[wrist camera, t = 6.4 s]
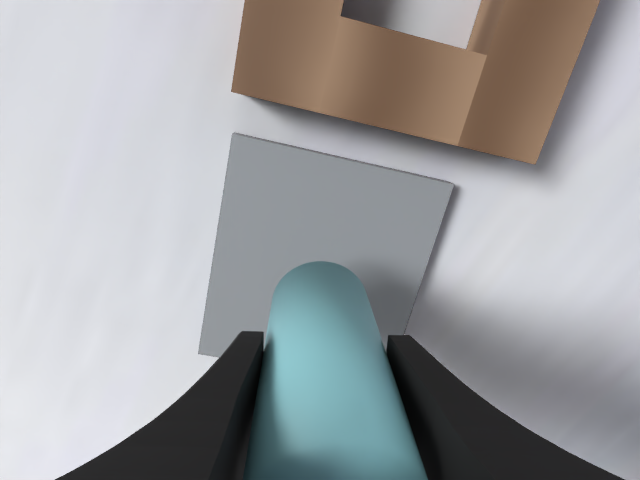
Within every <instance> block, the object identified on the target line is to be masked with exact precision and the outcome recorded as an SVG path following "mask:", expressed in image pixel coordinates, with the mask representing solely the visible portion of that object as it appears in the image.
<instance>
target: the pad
mask: <svg viewBox="0 0 640 480" xmlns="http://www.w3.org/2000/svg"><path fill="white" fill-rule="evenodd" d="M453 187H454V184H452V183H451V182H448V181H444V180H440V179H435V178H431V177H427V176H422V175H418V174H413V173H409V172H405V171H400V170H396V169H392V168H387V167H383V166H379V165H374V164H370V163H365V162H361V161H357V160H352V159H348V158H344V157H339V156H335V155H330V154H326V153H322V152H317V151H313V150H309V149H304V148H300V147H296V146H291V145H287V144H282V143H278V142H274V141H269V140H265V139H261V138H256V137H252V136H248V135H243V134H239V133H233V134H232V138H231V145H230V151H229V158H228V164H227V171H226V177H225V183H224V190H223V196H222V203H221V209H220V216H219V222H218V228H217V235H216V241H215V248H214V254H213V261H212V267H211V273H210V280H209V286H208V293H207V299H206V306H205V312H204V318H203V325H202V331H201V338H200V344H199V351H198V354H202V355H207V356H213V357H219V358H220V356H221V355H222V354H223V353H224V352H225V350H226V349H227V348H228V347H229V346H230V344H231V343H232V342H233V340H234V339H235V338H236V337H237V335H238V334H239V333H240V332H242V331H262V332H264V346H265V340H266V333H267V327H268V321H269V315H270V309H271V303H272V297H273V293H274V291H275V288H276V286H277V285H278V283H279V281H280V280H281V279H282V278H283V277H284V276H285V275H286V274H287V273H288V272H289V271H291V270H292V269H294V268H296V267H297V266H300V265H302V264H305V263H309V262H315V261H326V262H332V263H336V264H339V265H342V266H344V267H345V268H347V269H349V270H350V271H352V272H353V273H354V274H355V275H356V276H357V277H358V278H359V279H360V281H361V282H362V284H363V286H364V288H365V290H366V293H367V296H368V299H369V302H370V305H371V308H372V311H373V314H374V317H375V321H376V324H377V327H378V330H379V333H380V336H381V339H382V342H383V345H384V348H385V351H386V349H387V341H388V335H404V332H405V329H406V326H407V323H408V320H409V317H410V314H411V311H412V308H413V305H414V302H415V299H416V296H417V293H418V290H419V288H420V285H421V282H422V279H423V276H424V273H425V270H426V267H427V264H428V261H429V258H430V255H431V252H432V249H433V246H434V243H435V240H436V237H437V234H438V231H439V228H440V225H441V222H442V219H443V216H444V213H445V210H446V207H447V204H448V201H449V198H450V195H451V192H452V189H453Z"/></svg>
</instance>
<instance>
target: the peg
mask: <svg viewBox="0 0 640 480" xmlns="http://www.w3.org/2000/svg"><path fill="white" fill-rule="evenodd" d="M243 480H428V478H427V475H426V472H425V469H424V466H423V463H422V460H421V457H420V454H419V451H418V448H417V445H416V442H415V439H414V435H413V432H412V429H411V426H410V423H409V420H408V417H407V414H406V411H405V408H404V405H403V402H402V399H401V396H400V393H399V390H398V387H397V384H396V381H395V378H394V375H393V372H392V369H391V366H390V363H389V360H388V357H387V354H386V351H385V348H384V345H383V342H382V339H381V336H380V333H379V330H378V327H377V324H376V321H375V317H374V314H373V311H372V308H371V305H370V302H369V299H368V296H367V293H366V290H365V288H364V286H363V284H362V282H361V281H360V279H359V278H358V277H357V276H356V275H355V274H354V273H353V272H352V271H350V270H349V269H347V268H345V267H344V266H342V265H339V264H336V263H332V262H326V261H315V262H309V263H305V264H302V265H300V266H297V267H296V268H294V269H292V270H291V271H289V272H288V273H287V274H286V275H285V276H284V277H283V278H282V279H281V280H280V281H279V283H278V285H277V286H276V288H275V291H274V293H273V297H272V303H271V309H270V315H269V321H268V327H267V333H266V340H265V346H264V353H263V359H262V366H261V372H260V377H259V383H258V389H257V395H256V401H255V407H254V413H253V420H252V426H251V432H250V438H249V444H248V450H247V456H246V463H245V469H244V475H243Z"/></svg>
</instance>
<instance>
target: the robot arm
mask: <svg viewBox="0 0 640 480" xmlns="http://www.w3.org/2000/svg"><path fill="white" fill-rule="evenodd" d="M263 353H264V332H262V331H242V332H240V333H239V334H238V335H237V337H236V338H235V339H234V340H233V342H232V343H231V344H230V346H229V347H228V348H227V349H226V350H225V352H224V353H223V354H222V355H221V356H220V358H219V359H218V360H217V361H216V362H215V363H214V364H213V365H212V366H211V367H210V369H209V370H208V371H207V372H206V373H205V374H204V375H203V376H202V377H201V378H200V379H199V380H198V381H197V382H196V383H195V384H194V385H193V386H192V387H191V388H190V389H189V390H188V391H187V392H186V393H185V394H184V395H182V396H181V397H180V398H179V399H178V400H177V401H176V402H175V403H173V404H172V405H171V406H170V407H169V408H168V409H166V410H165V411H164V412H163V413H161V414H160V415H159V416H158V417H156V418H155V419H154V420H152V421H151V422H150V423H148V424H147V425H145V426H144V427H142V428H141V429H139V430H138V431H137V432H135V433H134V434H132V435H131V436H129V437H128V438H126V439H125V440H123V441H122V442H121V443H119V444H117V445H116V446H114V447H113V448H111V449H109V450H108V451H106V452H104V453H103V454H101V455H99V456H98V457H96V458H94V459H92V460H91V461H89V462H87V463H85V464H84V465H82V466H80V467H78V468H76V469H75V470H73V471H71V472H69V473H67V474H65V475H63V476H61V477H59V478H57V479H55V480H243V475H244V469H245V463H246V456H247V450H248V444H249V438H250V432H251V426H252V420H253V413H254V407H255V401H256V395H257V389H258V383H259V377H260V372H261V366H262V359H263ZM386 354H387V357H388V360H389V363H390V366H391V369H392V372H393V375H394V378H395V381H396V384H397V387H398V390H399V393H400V396H401V399H402V402H403V405H404V408H405V411H406V414H407V417H408V420H409V423H410V426H411V429H412V432H413V435H414V439H415V442H416V445H417V448H418V451H419V454H420V457H421V460H422V463H423V466H424V469H425V472H426V475H427V478H428V480H624V479H622V478H620V477H618V476H616V475H614V474H612V473H609V472H607V471H605V470H603V469H601V468H599V467H597V466H595V465H593V464H591V463H589V462H586V461H585V460H583V459H581V458H579V457H577V456H575V455H573V454H571V453H569V452H567V451H565V450H563V449H562V448H560V447H558V446H556V445H555V444H553V443H551V442H549V441H548V440H546V439H544V438H542V437H540V436H539V435H537V434H535V433H534V432H532V431H530V430H529V429H527V428H525V427H524V426H522V425H521V424H519V423H518V422H516V421H515V420H513V419H512V418H510V417H509V416H507V415H506V414H504V413H503V412H501V411H500V410H498V409H497V408H495V407H494V406H492V405H491V404H490V403H488V402H487V401H486V400H484V399H483V398H482V397H480V396H479V395H478V394H477V393H475V392H474V391H473V390H471V389H470V388H469V387H468V386H466V385H465V384H464V383H463V382H461V381H460V380H459V379H458V378H457V377H455V376H454V375H453V374H452V373H451V372H450V371H449V370H447V369H446V368H445V367H444V366H443V365H442V364H441V363H439V362H438V361H437V360H436V359H435V358H434V357H433V356H432V355H431V354H430V353H428V352H427V351H426V350H425V349H424V348H423V347H422V346H421V345H420V344H419V343H418V342H416V341H415V340H414V339H413V338H412V337H411V336H409V335H388V341H387V349H386Z"/></svg>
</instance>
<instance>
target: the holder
mask: <svg viewBox="0 0 640 480" xmlns="http://www.w3.org/2000/svg"><path fill="white" fill-rule="evenodd" d="M343 2H344V0H245V3H244V9H243V16H242V23H241V29H240V36H239V43H238V49H237V56H236V63H235V69H234V76H233V83H232V89H231V92H234V93H238V94H242V95H247V96H251V97H255V98H259V99H263V100H268V101H272V102H276V103H280V104H284V105H288V106H293V107H297V108H301V109H305V110H309V111H313V112H318V113H322V114H326V115H330V116H334V117H338V118H343V119H347V120H351V121H355V122H359V123H364V124H368V125H372V126H376V127H380V128H384V129H389V130H393V131H397V132H401V133H405V134H409V135H414V136H418V137H422V138H426V139H430V140H435V141H439V142H443V143H447V144H451V145H455V146H460V147H464V148H468V149H472V150H476V151H480V152H485V153H489V154H493V155H497V156H501V157H505V158H510V159H514V160H518V161H522V162H526V163H531V164H536V162H537V159H538V157H539V154H540V152H541V149H542V147H543V144H544V142H545V139H546V136H547V134H548V131H549V129H550V126H551V124H552V121H553V119H554V116H555V114H556V111H557V109H558V106H559V104H560V101H561V98H562V96H563V93H564V91H565V88H566V86H567V83H568V81H569V78H570V76H571V73H572V71H573V68H574V66H575V63H576V60H577V58H578V55H579V53H580V50H581V48H582V45H583V43H584V40H585V38H586V35H587V33H588V30H589V27H590V25H591V22H592V20H593V17H594V15H595V12H596V10H597V7H598V5H599V2H600V0H482V1H481V4H480V7H479V10H478V14H477V17H476V20H475V23H474V26H473V30H472V33H471V36H470V39H469V42H468V46H467V49H466V50H465V49H462V48H458V47H454V46H450V45H447V44H443V43H439V42H435V41H432V40H428V39H424V38H420V37H417V36H413V35H409V34H405V33H402V32H398V31H394V30H390V29H387V28H383V27H379V26H376V25H372V24H368V23H364V22H361V21H357V20H353V19H349V18H346V17H342V16H340V15H341V11H342V6H343Z"/></svg>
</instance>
